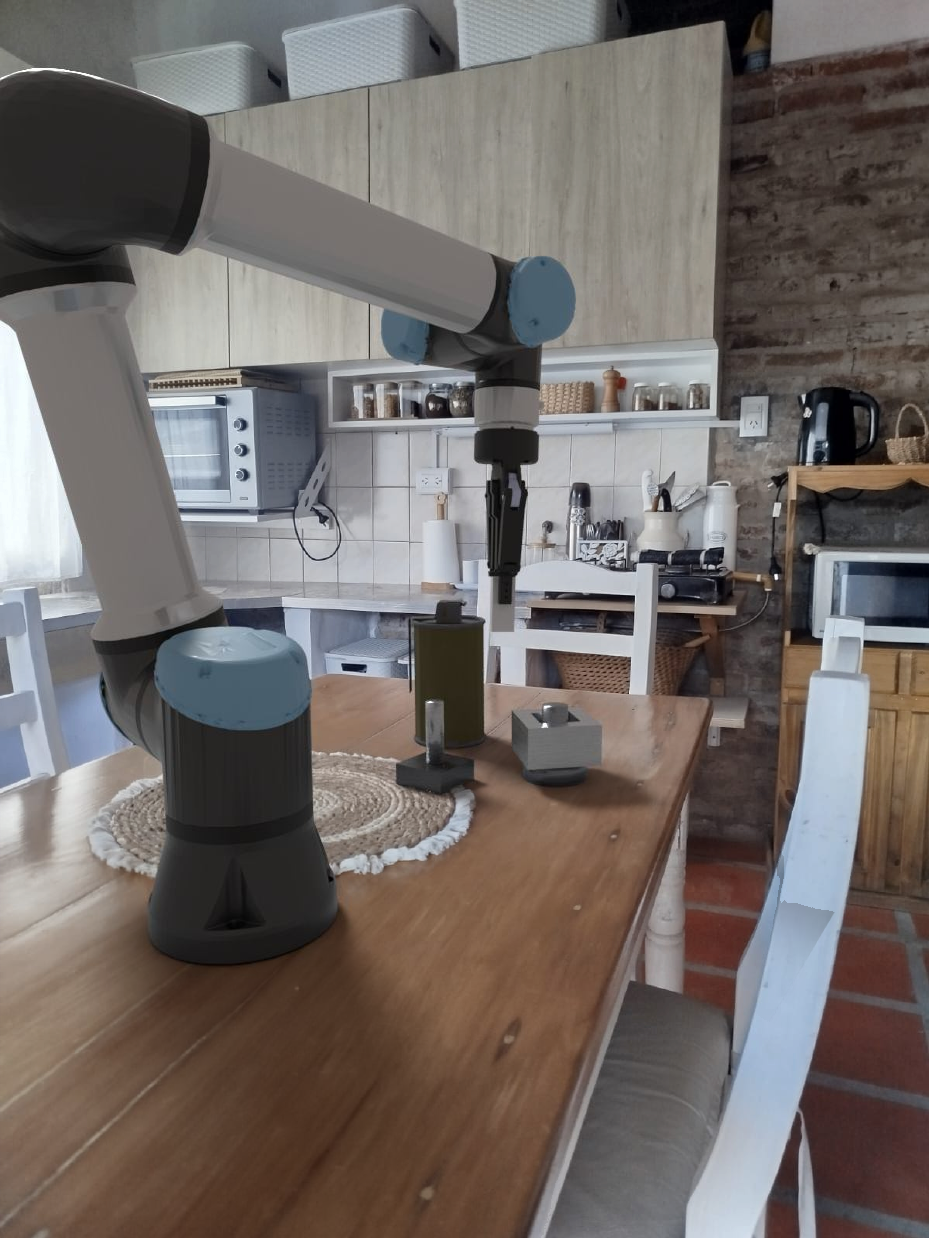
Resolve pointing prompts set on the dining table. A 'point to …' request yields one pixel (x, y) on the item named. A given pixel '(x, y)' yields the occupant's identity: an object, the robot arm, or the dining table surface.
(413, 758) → the stand
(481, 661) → the canister
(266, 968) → the dining table surface
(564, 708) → the cylinder
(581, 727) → the grey square ring block
